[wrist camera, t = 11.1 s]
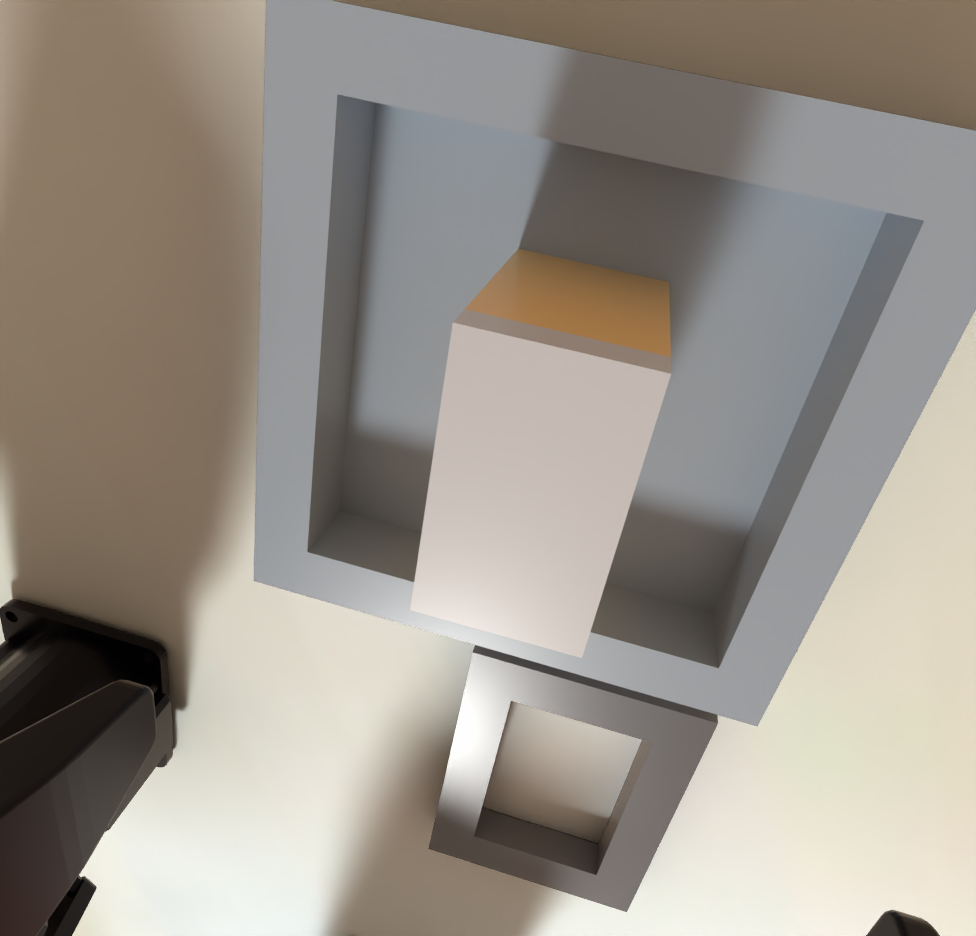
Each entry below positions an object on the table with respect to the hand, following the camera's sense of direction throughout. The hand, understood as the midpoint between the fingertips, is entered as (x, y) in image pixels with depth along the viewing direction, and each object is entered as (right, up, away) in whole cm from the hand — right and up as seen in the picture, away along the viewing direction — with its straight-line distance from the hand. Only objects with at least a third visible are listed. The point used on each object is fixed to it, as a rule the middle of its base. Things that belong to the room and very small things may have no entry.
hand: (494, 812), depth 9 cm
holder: (+2, -6, +17) cm, 18 cm away
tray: (+2, +7, +10) cm, 12 cm away
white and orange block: (+2, +6, +9) cm, 11 cm away
